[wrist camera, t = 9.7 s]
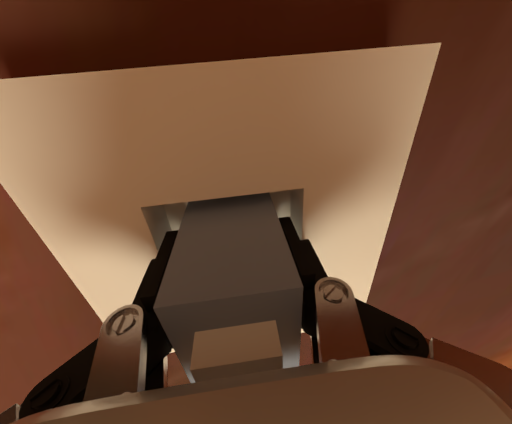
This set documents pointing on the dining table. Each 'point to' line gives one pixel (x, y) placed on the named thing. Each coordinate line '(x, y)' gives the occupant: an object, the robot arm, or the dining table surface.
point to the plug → (231, 290)
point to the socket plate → (212, 155)
